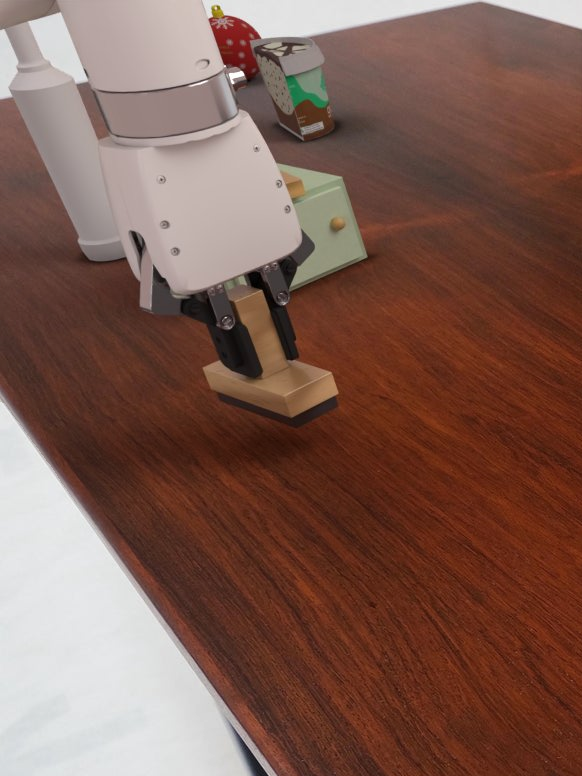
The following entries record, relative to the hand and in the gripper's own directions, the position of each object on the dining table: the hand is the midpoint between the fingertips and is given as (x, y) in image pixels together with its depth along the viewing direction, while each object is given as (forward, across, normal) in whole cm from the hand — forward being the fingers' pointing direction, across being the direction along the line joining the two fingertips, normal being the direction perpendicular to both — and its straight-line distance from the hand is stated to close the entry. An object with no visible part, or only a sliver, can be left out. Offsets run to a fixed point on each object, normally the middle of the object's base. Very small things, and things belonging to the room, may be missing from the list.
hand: (263, 362), depth 92 cm
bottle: (+7, -16, -48) cm, 52 cm away
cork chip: (-1, -20, -25) cm, 32 cm away
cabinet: (+7, -19, -29) cm, 36 cm away
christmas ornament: (+8, -62, -93) cm, 112 cm away
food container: (+7, -52, -64) cm, 83 cm away
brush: (+3, 0, 0) cm, 3 cm away
